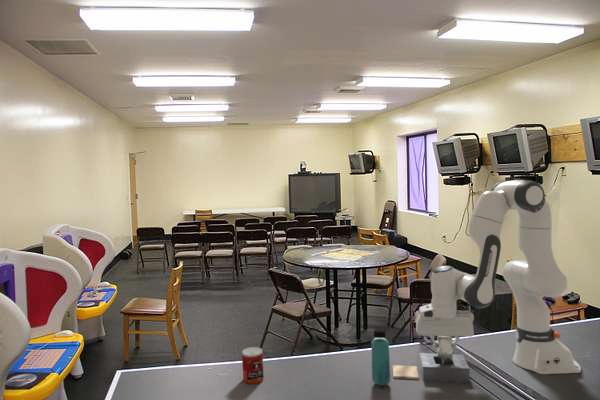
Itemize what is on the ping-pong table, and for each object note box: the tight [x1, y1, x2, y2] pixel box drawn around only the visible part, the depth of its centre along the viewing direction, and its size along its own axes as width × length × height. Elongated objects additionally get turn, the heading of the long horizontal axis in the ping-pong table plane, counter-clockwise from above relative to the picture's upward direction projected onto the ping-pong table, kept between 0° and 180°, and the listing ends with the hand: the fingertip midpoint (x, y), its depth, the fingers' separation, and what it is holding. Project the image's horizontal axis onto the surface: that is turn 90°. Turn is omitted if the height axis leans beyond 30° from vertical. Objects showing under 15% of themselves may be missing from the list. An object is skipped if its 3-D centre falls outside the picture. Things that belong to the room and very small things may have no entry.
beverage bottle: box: [370, 328, 391, 386], centre depth 154 cm, size 6×7×20 cm
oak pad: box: [392, 364, 420, 380], centre depth 163 cm, size 9×9×1 cm
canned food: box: [241, 346, 265, 385], centre depth 161 cm, size 8×8×11 cm
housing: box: [419, 352, 471, 383], centre depth 161 cm, size 16×12×5 cm
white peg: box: [436, 336, 453, 365], centre depth 161 cm, size 5×5×10 cm
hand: (444, 346), depth 161 cm, fingers closed on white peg, 5 cm apart
